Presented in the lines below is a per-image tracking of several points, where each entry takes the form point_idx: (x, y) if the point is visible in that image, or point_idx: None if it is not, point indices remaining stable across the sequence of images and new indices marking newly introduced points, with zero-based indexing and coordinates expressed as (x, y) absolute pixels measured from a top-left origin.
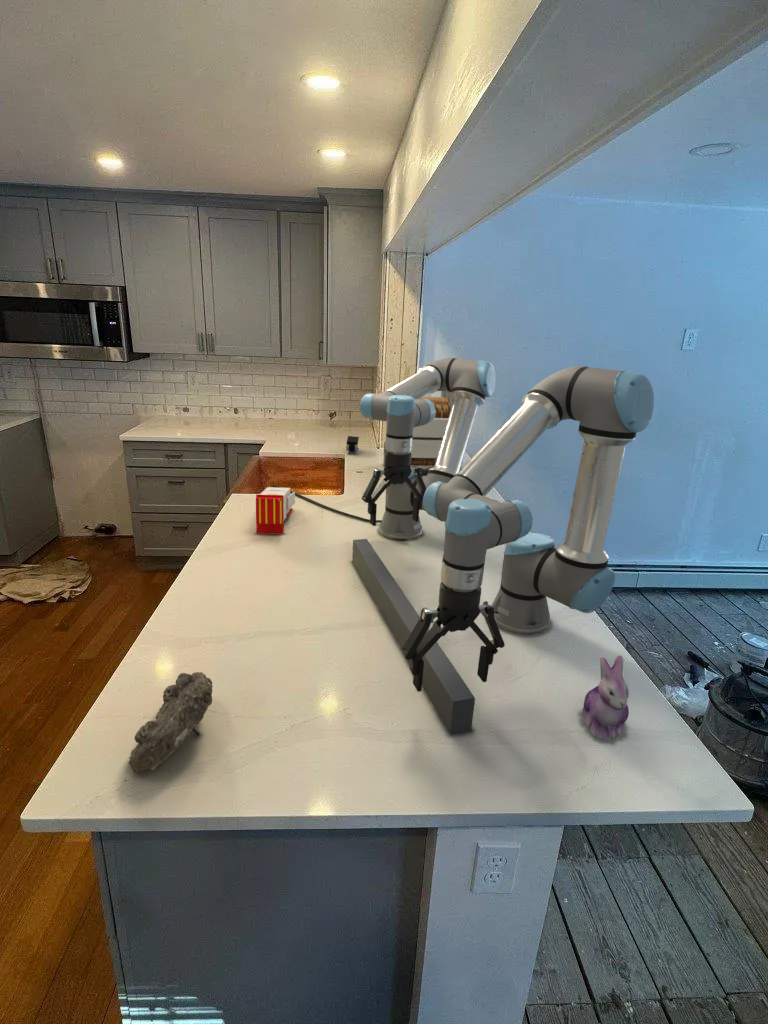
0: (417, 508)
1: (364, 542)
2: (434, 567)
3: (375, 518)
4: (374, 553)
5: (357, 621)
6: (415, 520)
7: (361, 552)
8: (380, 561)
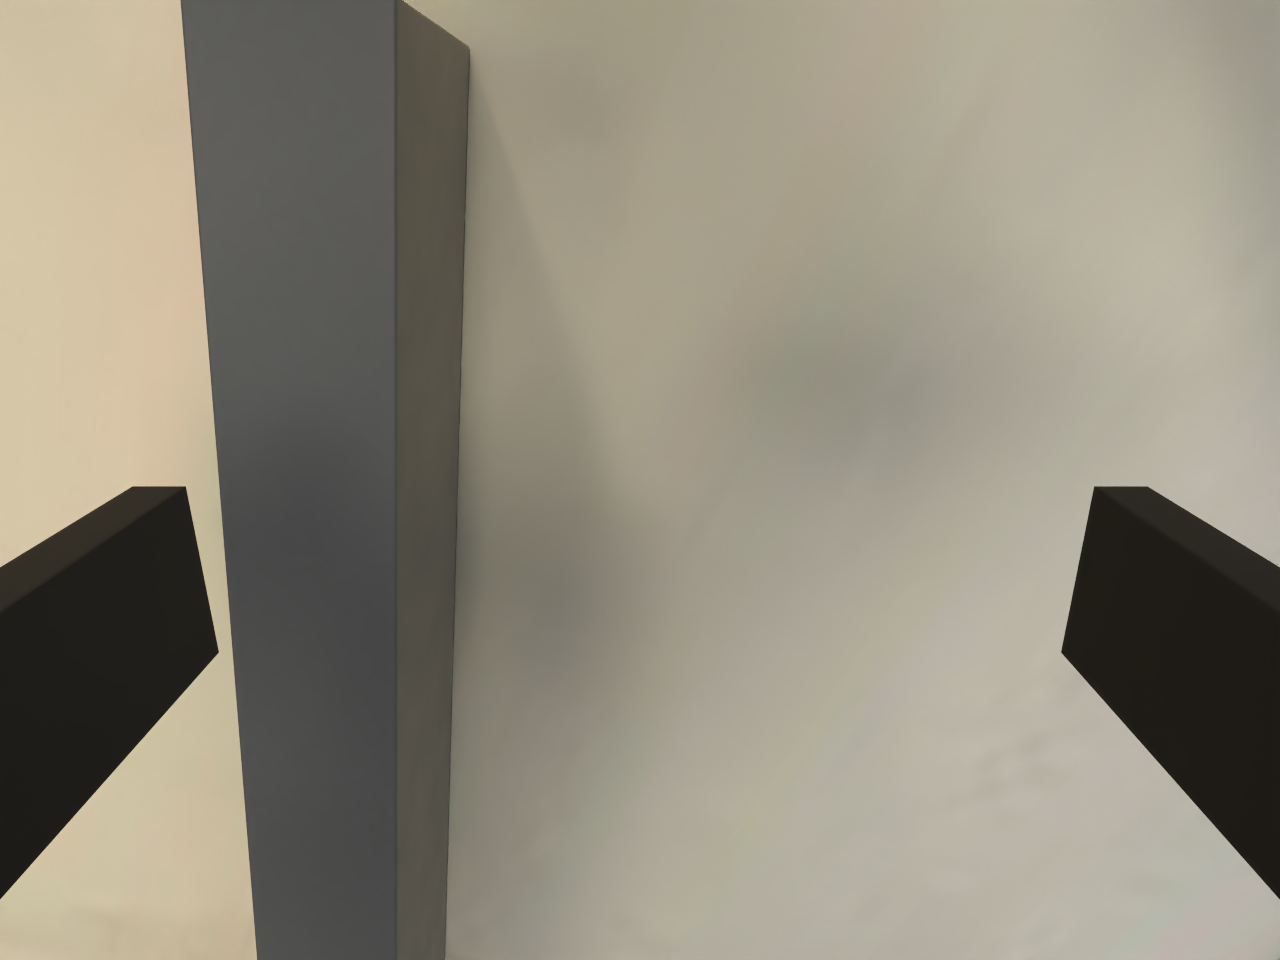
0: (1261, 866)
1: (328, 129)
2: (1053, 410)
3: (117, 749)
4: (369, 500)
5: (177, 918)
6: (1075, 632)
7: (222, 430)
8: (378, 691)
